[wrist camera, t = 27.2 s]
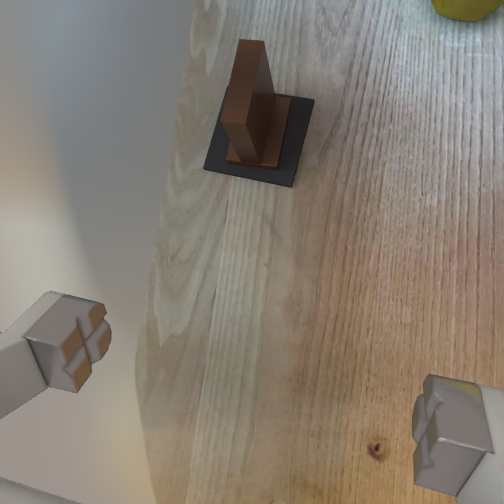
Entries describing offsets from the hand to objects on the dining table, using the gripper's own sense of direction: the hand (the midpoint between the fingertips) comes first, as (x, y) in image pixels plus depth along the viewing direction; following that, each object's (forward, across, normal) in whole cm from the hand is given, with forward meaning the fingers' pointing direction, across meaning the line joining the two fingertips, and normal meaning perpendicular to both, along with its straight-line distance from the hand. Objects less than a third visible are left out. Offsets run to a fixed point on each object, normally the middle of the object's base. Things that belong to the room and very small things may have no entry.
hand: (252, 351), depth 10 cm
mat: (+32, +8, +7) cm, 34 cm away
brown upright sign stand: (+32, +8, +6) cm, 33 cm away
